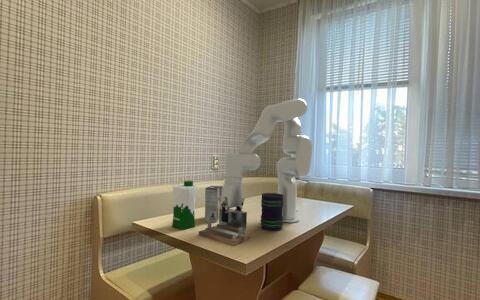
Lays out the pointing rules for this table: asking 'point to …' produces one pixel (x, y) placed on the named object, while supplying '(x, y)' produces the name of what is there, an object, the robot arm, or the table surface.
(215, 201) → the coffee box
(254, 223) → the table surface
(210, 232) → the dock
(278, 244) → the table surface
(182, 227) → the milk carton
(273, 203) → the storage jar
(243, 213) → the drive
